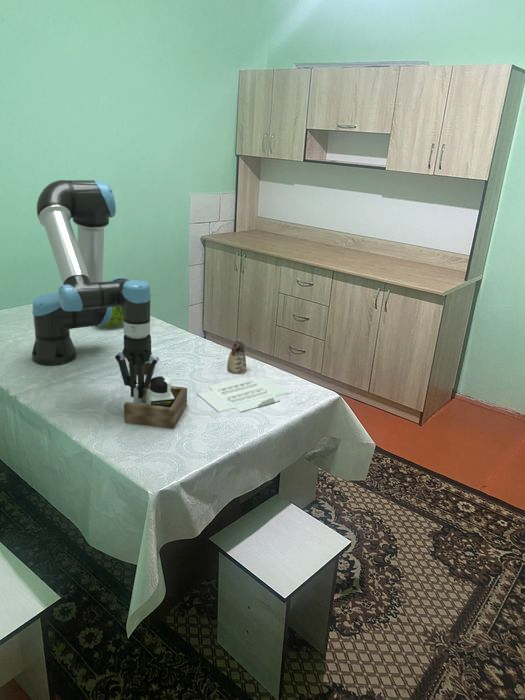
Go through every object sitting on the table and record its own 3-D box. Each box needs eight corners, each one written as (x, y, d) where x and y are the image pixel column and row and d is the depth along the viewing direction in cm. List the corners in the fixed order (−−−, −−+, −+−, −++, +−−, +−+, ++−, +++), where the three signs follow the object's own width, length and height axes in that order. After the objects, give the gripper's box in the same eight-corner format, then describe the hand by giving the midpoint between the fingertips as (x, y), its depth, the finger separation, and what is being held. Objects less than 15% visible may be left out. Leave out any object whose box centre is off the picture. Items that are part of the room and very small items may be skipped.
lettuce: (111, 322, 247) (112, 293, 245) (130, 328, 228) (131, 297, 226) (80, 322, 239) (81, 292, 237) (98, 328, 220) (98, 296, 218)
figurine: (250, 370, 197) (252, 340, 193) (236, 375, 192) (238, 345, 188) (236, 364, 202) (238, 334, 197) (223, 369, 197) (224, 339, 192)
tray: (191, 392, 179) (192, 382, 178) (259, 378, 196) (260, 369, 194) (224, 419, 164) (225, 408, 163) (294, 401, 181) (295, 391, 179)
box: (124, 422, 157) (123, 404, 155) (141, 399, 171) (141, 382, 169) (174, 428, 156) (174, 410, 154) (186, 404, 170) (187, 387, 168)
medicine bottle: (150, 421, 158) (151, 385, 154) (145, 410, 164) (146, 375, 160) (173, 418, 161) (175, 383, 157) (168, 407, 167) (169, 373, 163)
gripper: (110, 336, 151) (112, 409, 160) (154, 341, 150) (153, 415, 159) (120, 327, 158) (121, 398, 167) (162, 332, 157) (161, 403, 166)
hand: (137, 406), depth 163 cm, fingers closed
